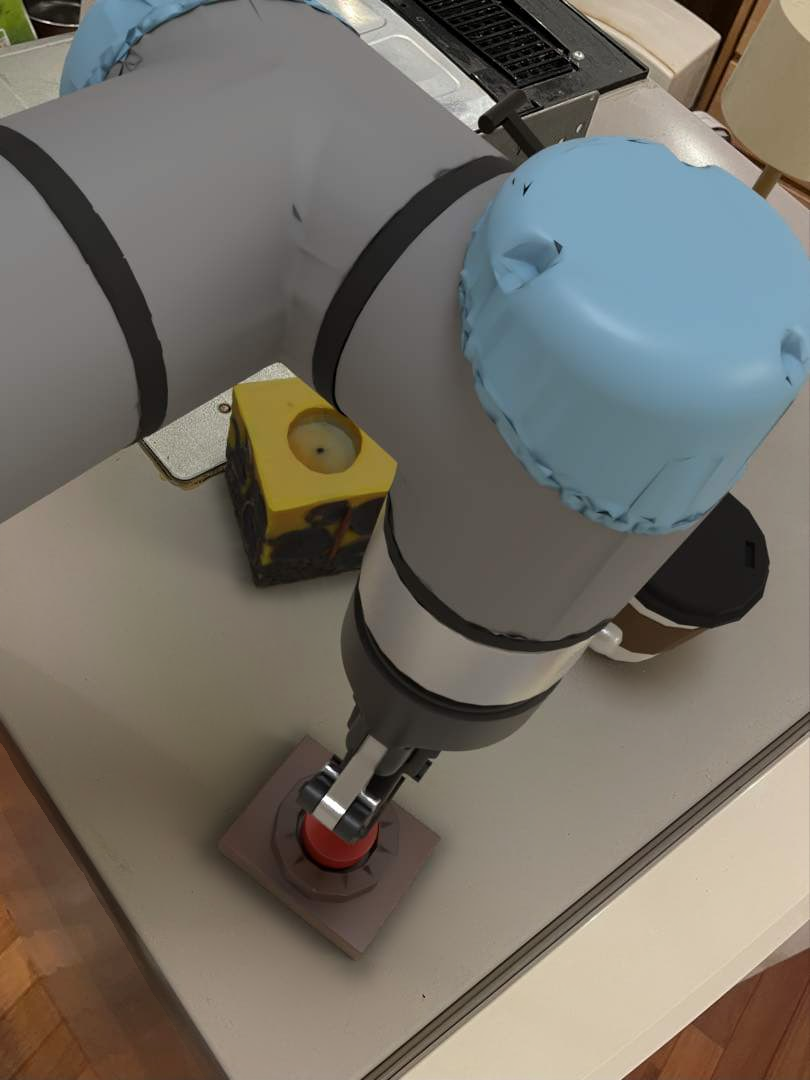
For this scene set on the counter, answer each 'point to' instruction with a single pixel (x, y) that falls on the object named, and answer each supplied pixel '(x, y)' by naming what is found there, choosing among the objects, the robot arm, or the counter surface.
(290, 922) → the counter surface
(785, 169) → the lamp
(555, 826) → the counter surface
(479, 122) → the black t-shaped bar
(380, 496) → the candle
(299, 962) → the counter surface
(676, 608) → the coffee cup
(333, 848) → the button
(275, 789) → the switch block
